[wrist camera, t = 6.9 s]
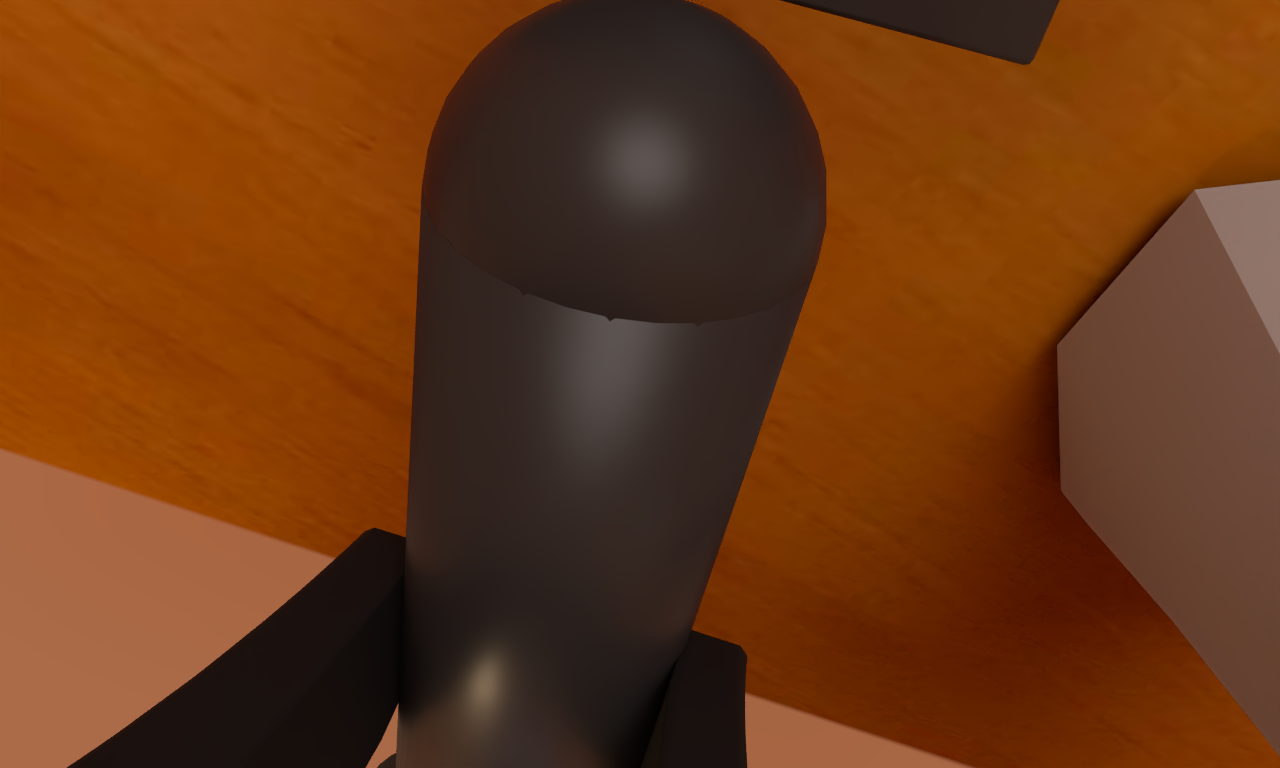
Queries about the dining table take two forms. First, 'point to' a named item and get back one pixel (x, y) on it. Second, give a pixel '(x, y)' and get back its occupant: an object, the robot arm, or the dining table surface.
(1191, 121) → the dining table surface
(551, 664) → the spatula
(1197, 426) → the flask
